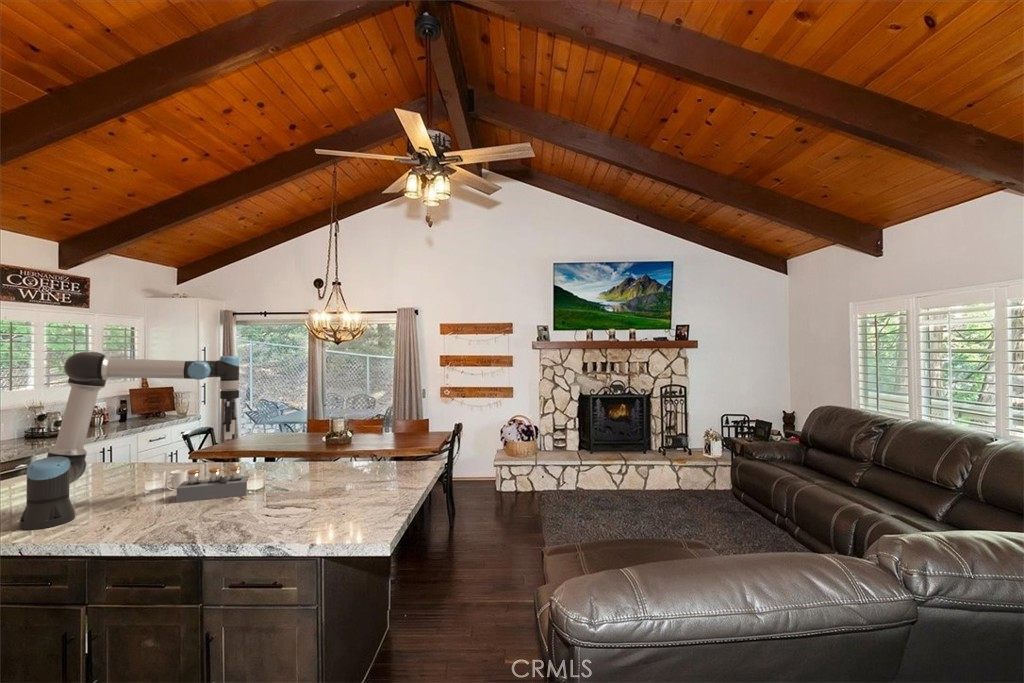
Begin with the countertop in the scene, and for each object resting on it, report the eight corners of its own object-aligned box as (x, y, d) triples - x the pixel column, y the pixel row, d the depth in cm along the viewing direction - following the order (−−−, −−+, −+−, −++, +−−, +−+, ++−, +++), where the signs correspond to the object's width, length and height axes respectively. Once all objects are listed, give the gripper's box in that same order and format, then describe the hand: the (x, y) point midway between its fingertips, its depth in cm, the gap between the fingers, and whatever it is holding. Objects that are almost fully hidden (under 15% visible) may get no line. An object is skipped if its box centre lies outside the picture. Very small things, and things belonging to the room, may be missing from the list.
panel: (249, 488, 225) (249, 475, 225) (246, 495, 214) (246, 481, 214) (183, 494, 215) (183, 481, 215) (176, 502, 204) (176, 488, 204)
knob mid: (218, 485, 213) (218, 470, 213) (206, 485, 212) (207, 470, 212) (222, 482, 217) (222, 467, 217) (210, 482, 216) (211, 468, 216)
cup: (191, 487, 228) (191, 469, 228) (172, 493, 218) (172, 475, 218) (178, 486, 229) (179, 469, 229) (159, 492, 219) (159, 474, 219)
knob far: (239, 483, 216) (239, 468, 216) (227, 483, 215) (228, 468, 215) (242, 480, 220) (242, 465, 221) (231, 481, 219) (231, 466, 220)
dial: (225, 483, 211) (225, 476, 211) (218, 484, 210) (218, 477, 210) (228, 482, 214) (228, 475, 214) (221, 482, 213) (221, 475, 213)
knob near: (197, 487, 210) (197, 471, 210) (185, 487, 209) (185, 472, 209) (201, 484, 214) (201, 469, 214) (189, 484, 213) (190, 469, 213)
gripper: (236, 391, 209) (236, 440, 209) (241, 387, 232) (241, 431, 231) (216, 392, 206) (216, 442, 206) (223, 388, 229) (223, 433, 228)
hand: (229, 436), depth 219 cm, fingers open, 13 cm apart
